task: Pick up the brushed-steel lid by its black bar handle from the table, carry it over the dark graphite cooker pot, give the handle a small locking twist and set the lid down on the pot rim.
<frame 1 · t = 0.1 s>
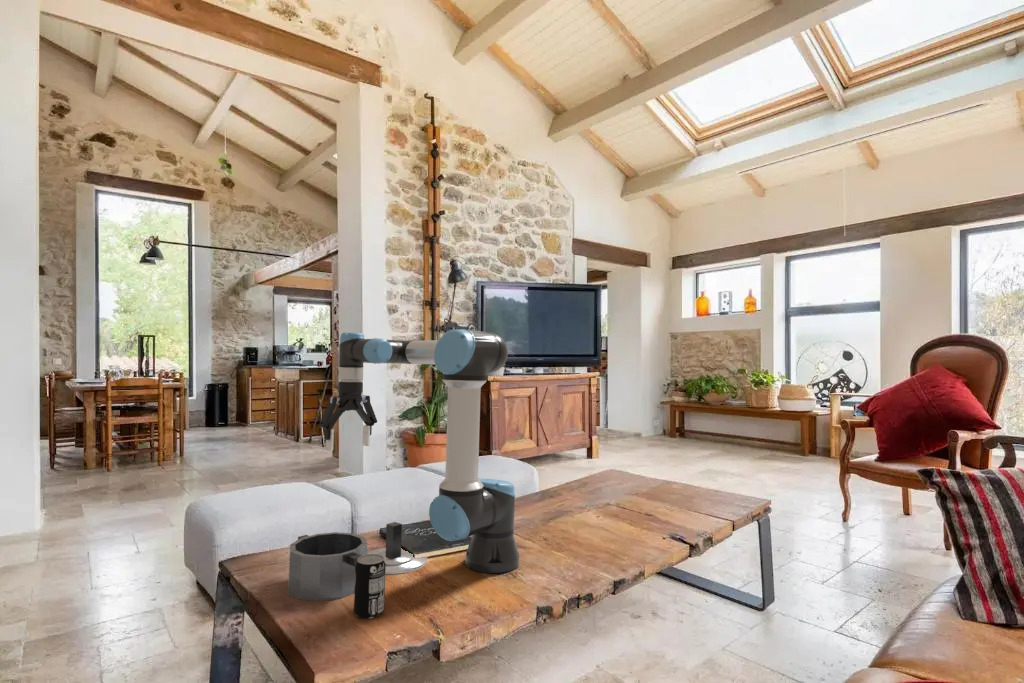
hand: (348, 448, 172), 28 cm above the table, fingers open, 13 cm apart
pot: (327, 584, 135), on the table
beverage can: (368, 613, 120), on the table
lid: (393, 562, 152), on the table
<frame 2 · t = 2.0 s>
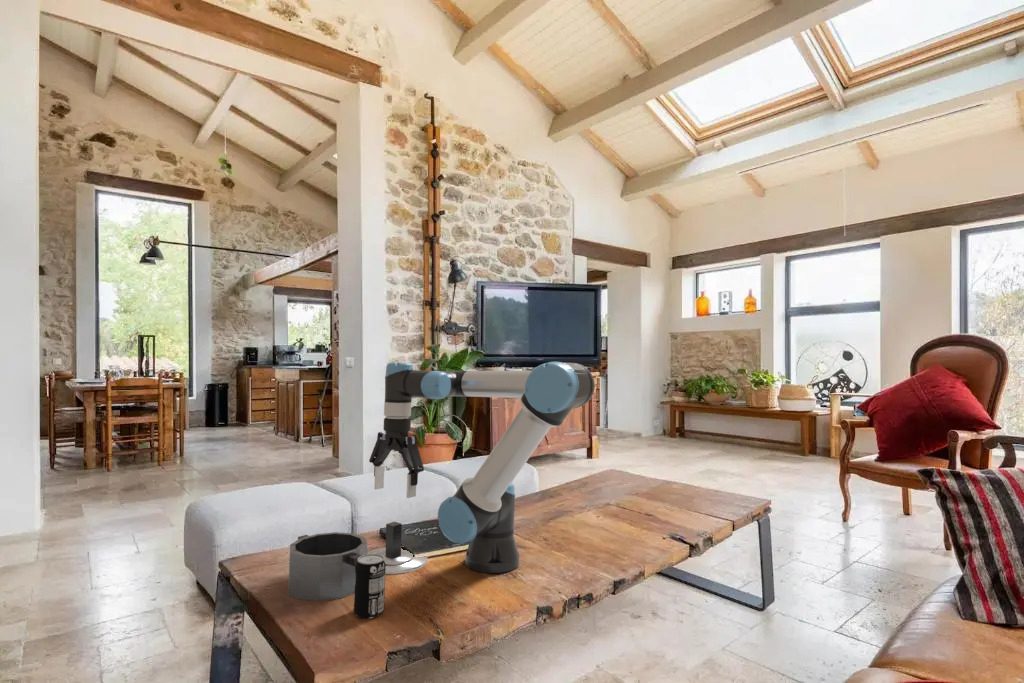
hand: (394, 492, 152), 19 cm above the table, fingers open, 13 cm apart
nothing on the table moved.
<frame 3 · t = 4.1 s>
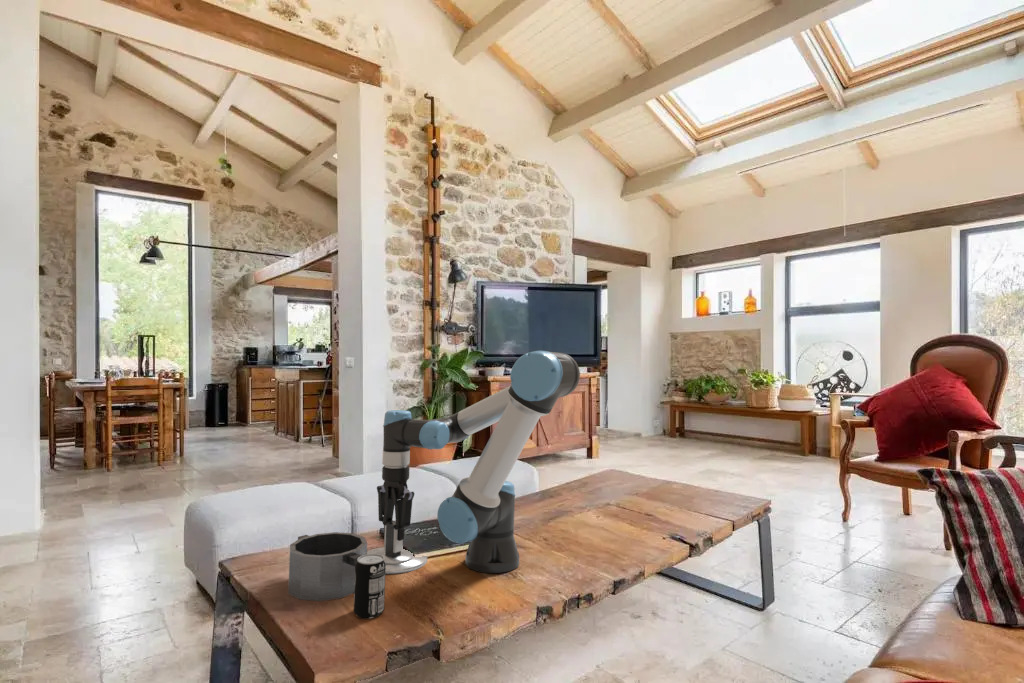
hand: (393, 549, 152), 3 cm above the table, fingers closed on lid, 3 cm apart
lid: (392, 561, 152), on the table, touching gripper
everything else where it was.
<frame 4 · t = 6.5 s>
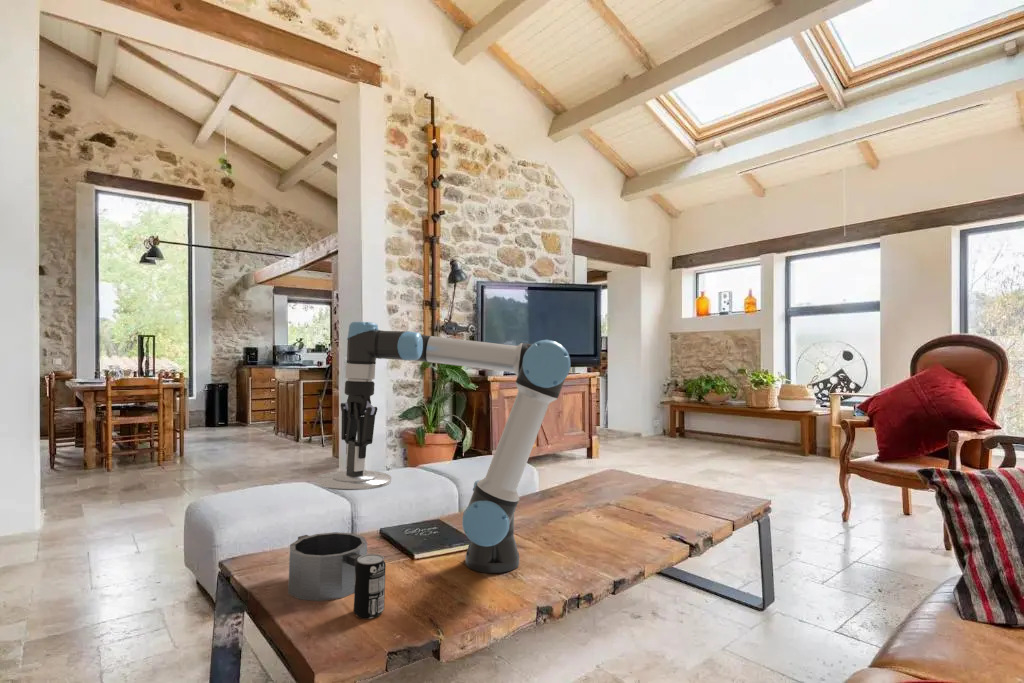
hand: (354, 469, 142), 27 cm above the table, fingers closed on lid, 3 cm apart
lid: (354, 481, 142), point 24 cm above the table, touching gripper
everything else where it was.
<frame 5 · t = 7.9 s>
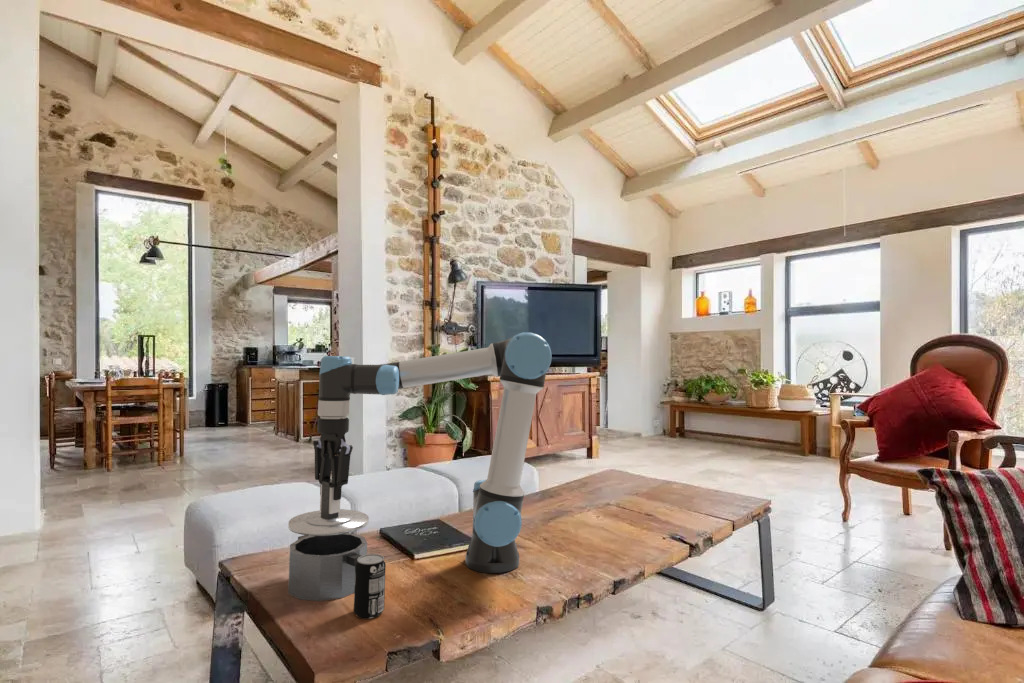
hand: (329, 511, 136), 18 cm above the table, fingers closed on lid, 3 cm apart
lid: (329, 523, 135), point 15 cm above the table, touching gripper
everything else where it was.
when the fingers open (15 cm above the table, at t = 8.9 s): lid drops 1 cm, resting on pot.
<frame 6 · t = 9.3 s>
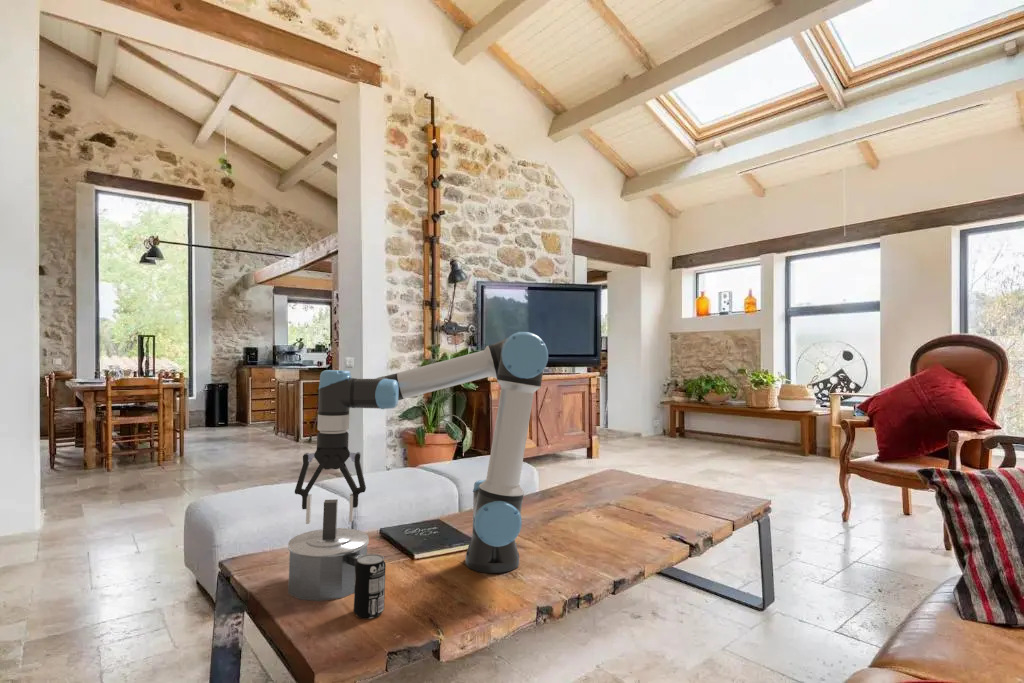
hand: (329, 521, 135), 16 cm above the table, fingers open, 9 cm apart
lid: (329, 543, 135), point 10 cm above the table, touching pot
everything else where it was.
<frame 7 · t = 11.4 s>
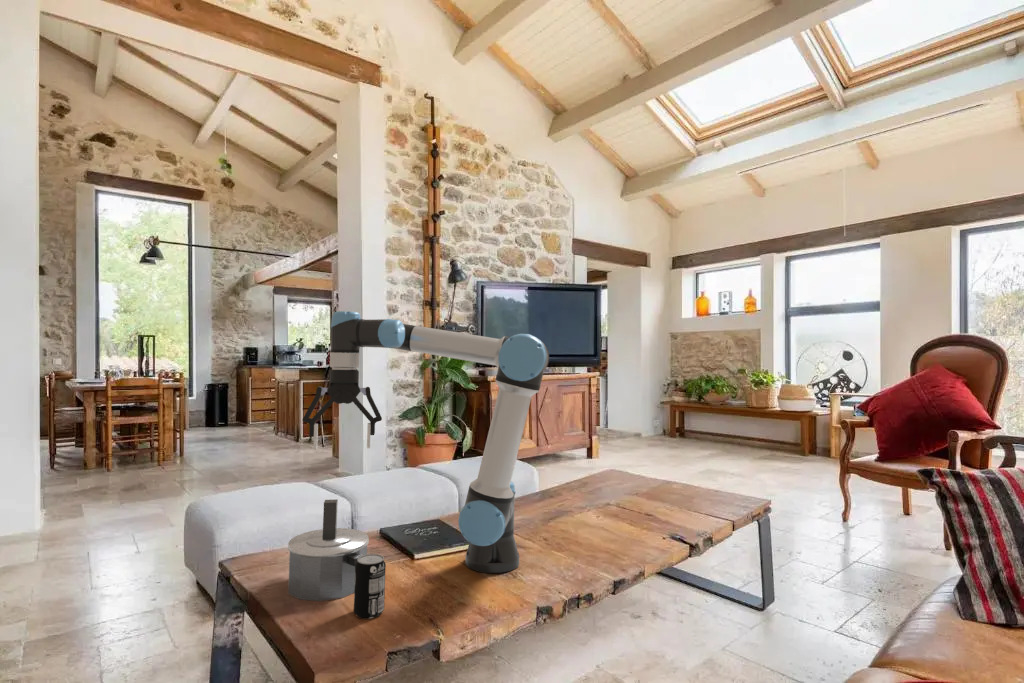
hand: (342, 448, 145), 32 cm above the table, fingers open, 13 cm apart
nothing on the table moved.
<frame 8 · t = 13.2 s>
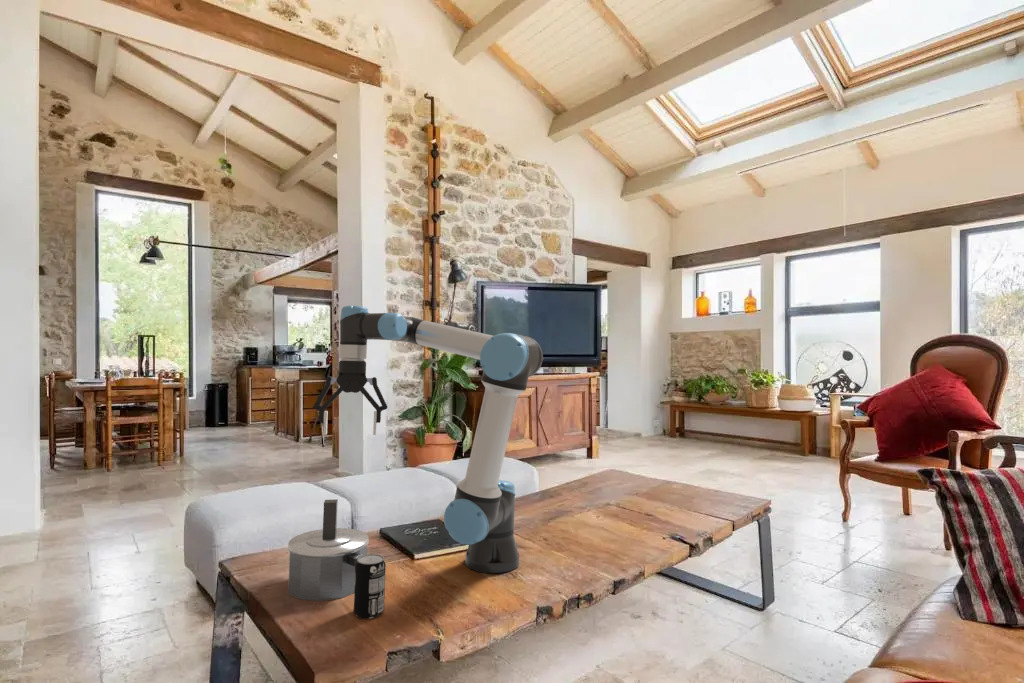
hand: (350, 434, 155), 35 cm above the table, fingers open, 13 cm apart
nothing on the table moved.
at the end: lid 0.1 cm off-centre on the pot, point 10.0 cm above the pot's base; lid tilted 0°; the gripper is holding nothing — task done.
